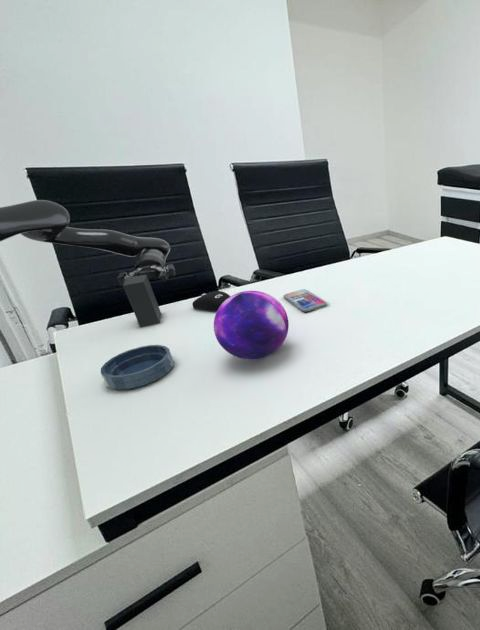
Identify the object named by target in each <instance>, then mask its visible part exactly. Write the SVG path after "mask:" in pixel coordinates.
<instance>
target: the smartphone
mask: <svg viewBox="0 0 480 630" xmlns="http://www.w3.org/2000/svg"><path fill="white" fill-rule="evenodd" d="M283 298H284V299H285V300H286V301H288V302H289V303H290V304H292V305H294V306H295V307H296V308H298V309H299V310H301V311H302V312H306V313H307V312H310V311H313V310H317V309H320V308H322V307H326V306H327V304H328V303H327V301H325V300H323V299H322V298H320V297H319V296H317V295H316V294H314V293H313V292H310V291H309V290H307V289H304V288H303V289H298V290H295V291H291V292H289V293H285V294H284V295H283Z"/></svg>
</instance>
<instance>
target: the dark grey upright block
mask: <svg viewBox="0 0 480 630" xmlns="http://www.w3.org/2000/svg"><path fill="white" fill-rule="evenodd" d="M122 287H123V290H124V292H125V294H126V297H127V299H128V302H129V304H130V307H131V309H132V311H133V313H134V316H135V318H136V320H137V323H138V325H139V327H140V328H143V327H148V326H152V325H157V324H161V319H162V311H161V309H160V306H159V304H158V301H157V298H156V296H155V293H154V291H153V287H152V285H151V282H150V281H149V280H148V277H147V275H140V276H135V277H129V278H126V280H125V282H124V284H123V286H122Z"/></svg>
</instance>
